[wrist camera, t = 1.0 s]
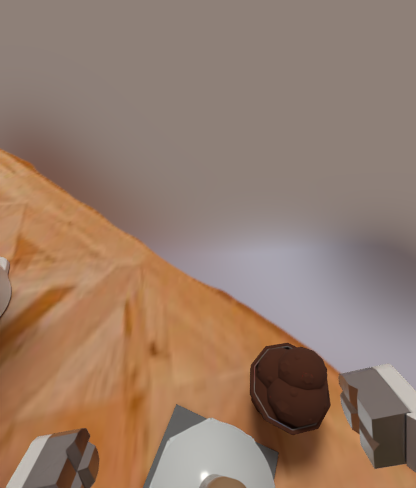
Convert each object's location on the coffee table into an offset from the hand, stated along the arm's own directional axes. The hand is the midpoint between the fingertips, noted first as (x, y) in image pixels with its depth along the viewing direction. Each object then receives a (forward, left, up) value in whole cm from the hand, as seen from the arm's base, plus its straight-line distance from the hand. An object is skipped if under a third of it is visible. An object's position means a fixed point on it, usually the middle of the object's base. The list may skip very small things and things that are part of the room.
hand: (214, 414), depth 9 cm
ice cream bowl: (+12, +12, -38) cm, 42 cm away
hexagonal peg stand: (+7, -2, -38) cm, 38 cm away
